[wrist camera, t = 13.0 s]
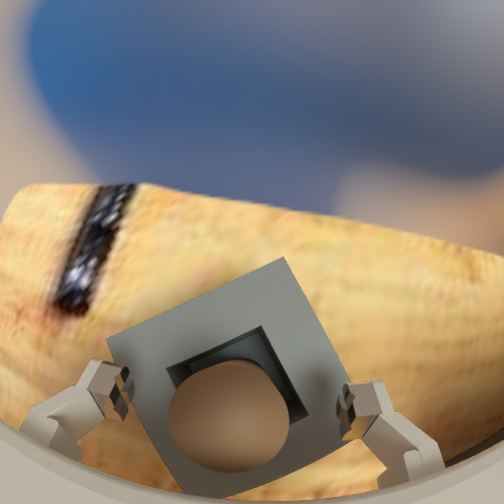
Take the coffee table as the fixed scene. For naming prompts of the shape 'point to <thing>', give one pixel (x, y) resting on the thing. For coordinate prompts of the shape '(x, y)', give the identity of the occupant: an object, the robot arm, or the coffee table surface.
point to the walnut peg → (229, 417)
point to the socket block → (239, 346)
